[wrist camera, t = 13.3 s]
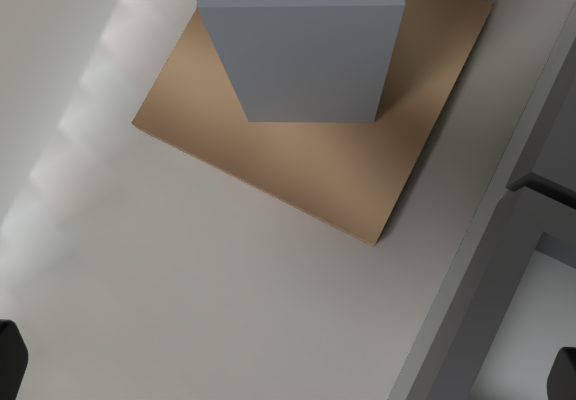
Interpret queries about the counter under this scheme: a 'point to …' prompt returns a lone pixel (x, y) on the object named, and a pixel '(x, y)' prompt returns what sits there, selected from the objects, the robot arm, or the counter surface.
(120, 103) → the counter surface
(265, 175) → the walnut board
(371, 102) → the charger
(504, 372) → the power strip
